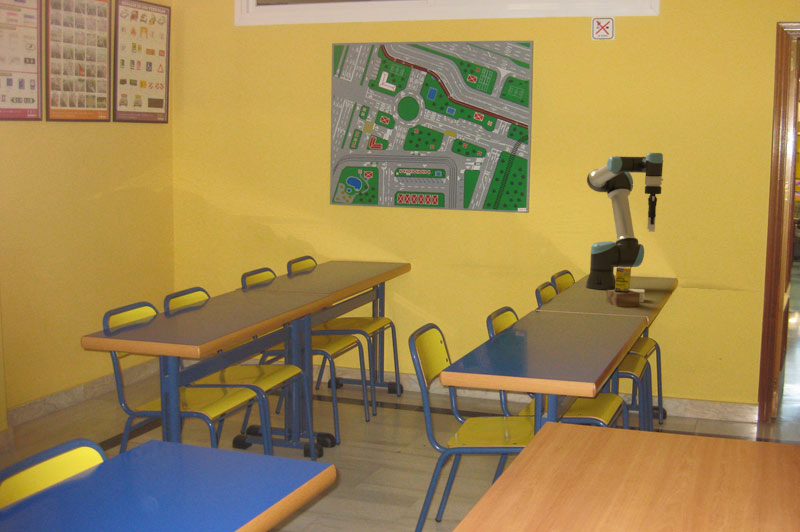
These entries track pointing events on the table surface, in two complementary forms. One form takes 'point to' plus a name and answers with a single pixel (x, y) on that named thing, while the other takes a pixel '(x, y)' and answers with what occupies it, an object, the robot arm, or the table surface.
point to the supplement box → (623, 279)
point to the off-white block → (642, 294)
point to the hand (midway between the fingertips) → (650, 230)
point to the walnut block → (622, 298)
